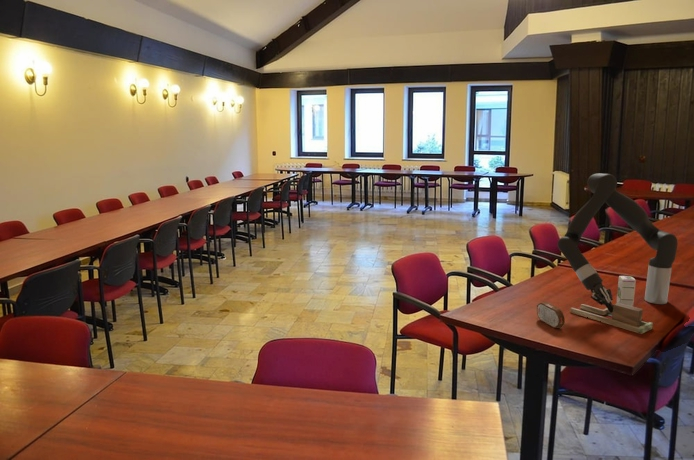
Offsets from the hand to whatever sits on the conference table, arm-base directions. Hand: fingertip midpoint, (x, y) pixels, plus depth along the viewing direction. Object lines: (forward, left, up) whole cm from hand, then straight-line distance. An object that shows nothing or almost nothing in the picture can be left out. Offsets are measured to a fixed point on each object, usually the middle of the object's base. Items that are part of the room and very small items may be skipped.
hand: (613, 311), depth 222 cm
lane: (-2, -1, -4) cm, 5 cm away
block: (0, +6, -4) cm, 7 cm away
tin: (+25, -14, -5) cm, 29 cm away
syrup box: (-20, -5, -4) cm, 21 cm away
